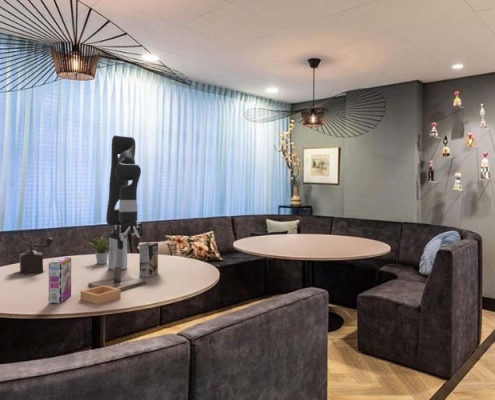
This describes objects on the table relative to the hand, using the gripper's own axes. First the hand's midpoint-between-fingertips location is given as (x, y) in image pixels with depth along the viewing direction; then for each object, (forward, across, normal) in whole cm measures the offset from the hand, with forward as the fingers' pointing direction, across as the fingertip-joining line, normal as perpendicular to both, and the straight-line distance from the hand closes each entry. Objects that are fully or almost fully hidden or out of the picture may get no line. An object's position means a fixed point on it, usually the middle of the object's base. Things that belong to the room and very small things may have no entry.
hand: (128, 247), depth 164 cm
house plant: (+18, -34, -60) cm, 71 cm away
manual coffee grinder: (+19, 0, -70) cm, 72 cm away
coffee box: (+19, -27, -16) cm, 37 cm away
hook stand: (+19, -5, -13) cm, 24 cm away
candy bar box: (+20, +22, -15) cm, 33 cm away
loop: (+20, +12, -3) cm, 23 cm away
